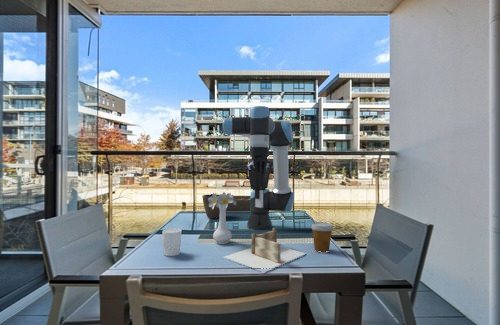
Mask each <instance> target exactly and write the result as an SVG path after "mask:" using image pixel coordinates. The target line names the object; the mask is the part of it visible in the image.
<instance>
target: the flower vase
mask: <svg viewBox="0 0 500 325" xmlns="http://www.w3.org/2000/svg"><path fill="white" fill-rule="evenodd" d="M212 194H213V195H212ZM212 194H211V195H212V196H211V197H210V198H208V200H209V201H208V202H210V203H209V205H208V206H209V207H211V208H212V210H213V209H214V207H215V205H216V207H218V208H219V210H220V214H219V219H218V220H219V221H218V222H219V223H218V226H217V228H216V230H214V232H213V234H212V237H213V239H214V240H215V243H216V244H218V245H226V244H228V243H229V242H230V240H231V239H232V237H233V234H232V232H231V230H230V229H229V228H228V226H227V221H226V220H227V218H226V217H227V213H226V211H227V208H228V206H229V204H233V205H234V206H235V207H236V206H237V201H236V200H235V199H234V194H232V193H231V192H227V193H226V192H225V191H223V192H222V193H220V194H218V195H219V196H216V194H217V192H213V193H212Z"/></svg>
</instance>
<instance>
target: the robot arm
mask: <svg viewBox="0 0 500 325" xmlns="http://www.w3.org/2000/svg"><path fill="white" fill-rule="evenodd" d="M249 113H250V114H249V116H238V117H237V116H233V117H232V116H231V117H225V118H224V119H223V121H222V131H223V133H224V134H225V135H231V136H233V135H237V136H242V137H246V138H248V139H249V145H250V148H249V157H250V158H251V159H250V163H249V164H245V167H246V169H247V172H248V180H249V185H250V187H249V188H250V189H251V190H252V191H251V192H250V197H249V199H250V200H249V201H250V203H249V205H250V206H249V208H250V209H249V212H250V213H249V217H248V221H247V224H246V228H248V229H251V230H257V231H258V230H259V231H261V230H269V229H273V228H272V226H273V224H272V223H273V222H272V221H271V216H270V211H272V212H283V213H284V212H291V211H292V209H293V206H294V205H293V204H294V197H295V192H293V191H292V188H291V187H290V181H289V147H290V146H291V143H293V142H294V134H293V126H292V123H291V122H289V121H287V120H285V121H284V120H278V121H276V120H275V121H274V120H273V119H272V118H271V117H270V115H271V114H270V108H269V107H268V106H264V105H257V106H253V107H251V108H250V112H249ZM269 146H270V147H271V148H272V157H273V159H272V163H273V165H272V164H270V163H269V161H268V157H270V148H269ZM272 168H273V186H274V187H273V188H272V189H271V191H270V189H269V188H268V187H269V181H270V173H271V170H272Z"/></svg>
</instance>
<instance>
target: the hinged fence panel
mask: <svg viewBox="0 0 500 325" xmlns="http://www.w3.org/2000/svg"><path fill="white" fill-rule="evenodd" d="M281 245H282V244H281V243H280V242H277V243H276V242H273V241H270V240H266V239H263V238H260V237H255V254H256V255H259V256H262V257H264V258H267V259H270V260H272V261H275V262H280V248H281V247H282V246H281Z"/></svg>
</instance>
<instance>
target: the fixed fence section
mask: <svg viewBox="0 0 500 325" xmlns="http://www.w3.org/2000/svg"><path fill="white" fill-rule="evenodd" d="M277 235H278V228H277V227H273V228H272V230H270V231H267V232H263V233H261V234H259V233H258V234H257V233H255V232H253V233H251V248H252V254H255V237H260V238H263V239H266V240H270V241H273V242H276V243H278V242H277V240H278V236H277Z"/></svg>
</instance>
